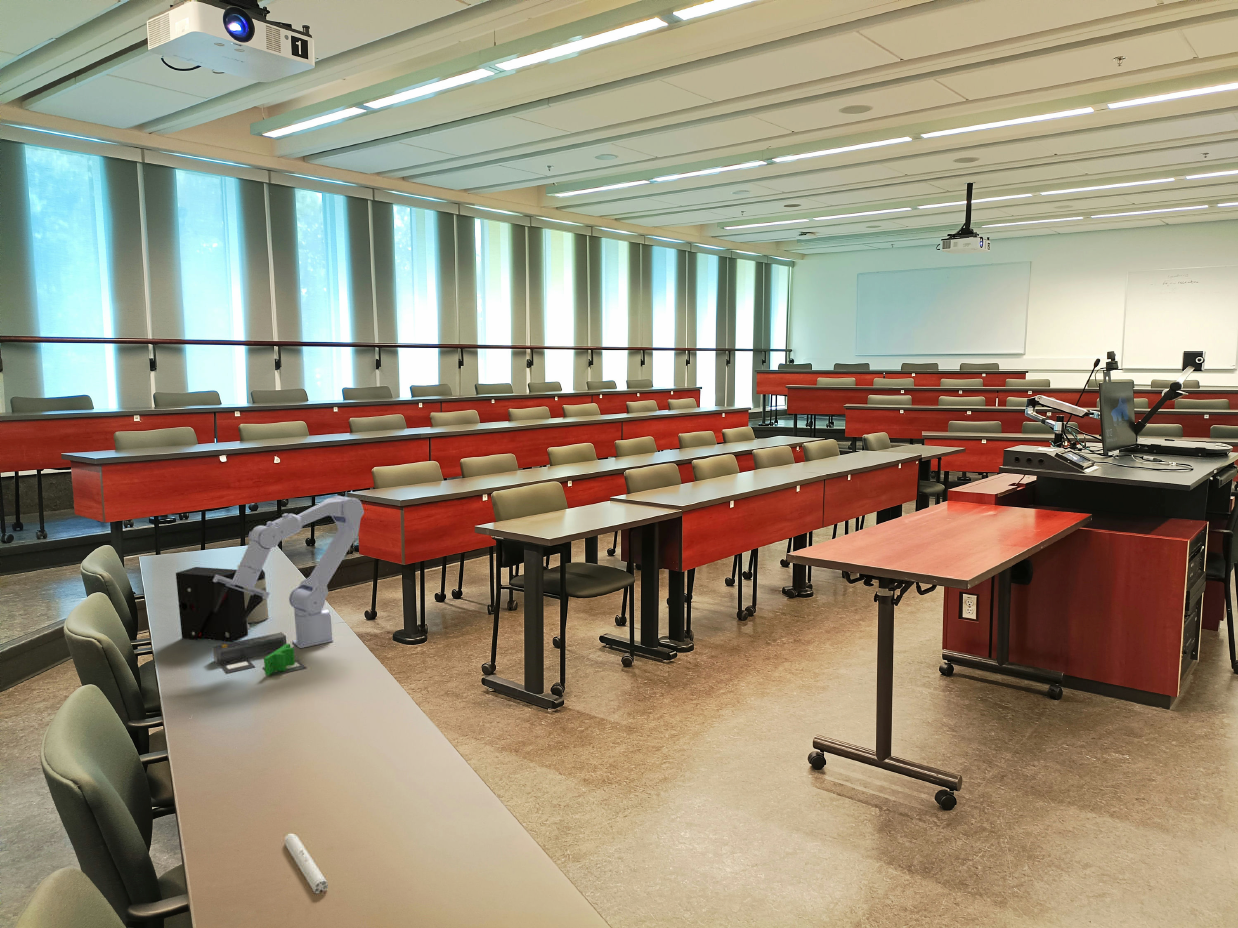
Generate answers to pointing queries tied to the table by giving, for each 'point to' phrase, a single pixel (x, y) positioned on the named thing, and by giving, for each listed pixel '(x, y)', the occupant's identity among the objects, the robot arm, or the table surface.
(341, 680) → the table surface
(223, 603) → the electrical component
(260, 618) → the travel mug
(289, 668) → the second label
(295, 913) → the table surface
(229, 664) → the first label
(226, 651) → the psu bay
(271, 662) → the pipe clamp
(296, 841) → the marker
